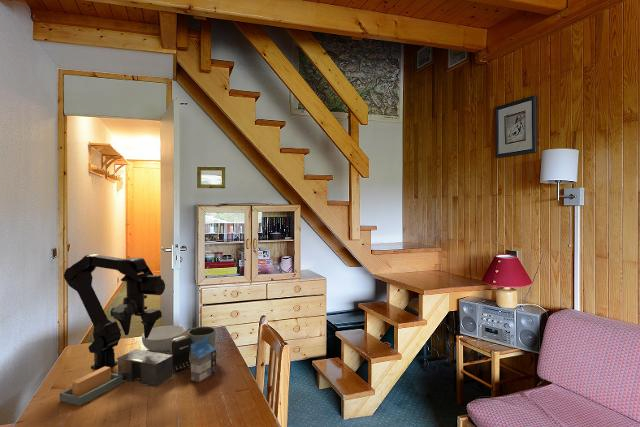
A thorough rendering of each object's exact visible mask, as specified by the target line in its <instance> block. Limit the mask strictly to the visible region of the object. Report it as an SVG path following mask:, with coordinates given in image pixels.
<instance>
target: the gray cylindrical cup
mask: <svg viewBox="0 0 640 427" xmlns="http://www.w3.org/2000/svg"><path fill="white" fill-rule="evenodd" d="M216 332H217V331H216V328H215V327H213V326H203V325H202V326H197V327H192V328H191V329H189V330H188V331H187V337H188V338H190V340H191V344H193V343H195V342H197V341H200V340H202V339H204V338H206V337H208V344H209V345H210V346H212V347H213V348H215V347H216V346H215V345H216ZM200 345H202V343H201V344H200V343H199V345H197V347H198V346H200ZM189 360H190V365H191V351H190V353H189Z"/></svg>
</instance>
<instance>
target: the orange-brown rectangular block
mask: <svg viewBox="0 0 640 427" xmlns="http://www.w3.org/2000/svg"><path fill="white" fill-rule="evenodd" d="M111 373H112V366H111V367H106V366H105V367H103V368H100V369H95V370H94V371H92V372H90V373H88V374H86V375H84V376H82V377H79V378H77V379H75V380H73V381H72V382H71V383H72V386H71V388H72V390H73V395H74V396H79V397H80V396H82V395H84V394H86V393H88V392H90V391H92V390H94V389H96V388H98V387H100V386H102V385H104V384H105V383H107V382H109V381H111Z"/></svg>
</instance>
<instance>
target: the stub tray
mask: <svg viewBox="0 0 640 427" xmlns="http://www.w3.org/2000/svg"><path fill="white" fill-rule="evenodd" d="M122 383H124V381H123V375H118V373H117V374H116V373H113V372H111V381H109V382H107V383H105V384H104V385H102V386H100V387H98V388H96V389H94V390H92V391H90V392H88V393H86V394H84V395H82V396H80V397H79V396H74V395H73V390H72V387H71V388H69V389H66V390H64V391H62V392H60V393H59V402H63V403H66V404H67V403H68V404H72V405H76V406H80V407H81V405H84V404H85V403H87V402H89V401H91V400H93V399H95V398H97V397H98V396H100V395H102V394H104V393H105V392H108V391H109V390H112V389H114V388H115V387H117V386H118V385H120V384H122Z"/></svg>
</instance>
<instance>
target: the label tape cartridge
mask: <svg viewBox="0 0 640 427" xmlns="http://www.w3.org/2000/svg"><path fill="white" fill-rule="evenodd" d="M199 343H200V344H201V343H202V345H200V346H198V347H197V345H199ZM216 373H217V349H216V348H215V347H214V348H213V347H212V346H210V345H209V344H208V337H206V338H204V339H202V340H200V341H197V342H195V343H193V344H191V364H190V379H191V380H190V381H193V382H195V383H196V382H197V383H201V382H203V381H204V380H206V379H208V378H209V377H210V376H213V375H214V374H216Z"/></svg>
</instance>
